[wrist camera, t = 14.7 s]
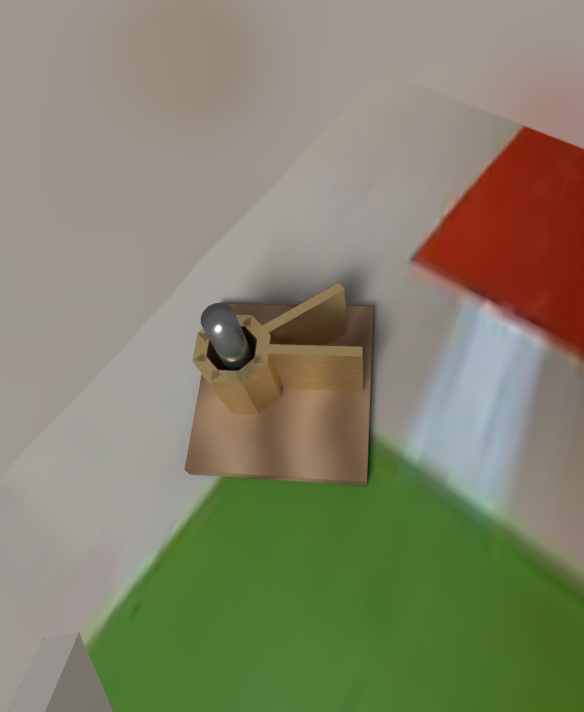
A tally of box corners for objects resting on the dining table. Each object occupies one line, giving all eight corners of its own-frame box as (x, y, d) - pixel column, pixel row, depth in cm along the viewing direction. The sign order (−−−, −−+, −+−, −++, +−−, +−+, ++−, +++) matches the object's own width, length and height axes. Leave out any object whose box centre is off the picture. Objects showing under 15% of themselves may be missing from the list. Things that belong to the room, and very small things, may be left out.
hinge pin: (264, 371, 48) (237, 303, 38) (261, 396, 47) (232, 334, 37) (238, 370, 49) (203, 302, 38) (234, 395, 48) (198, 333, 37)
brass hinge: (365, 325, 49) (365, 282, 43) (361, 420, 45) (360, 388, 39) (227, 322, 51) (207, 281, 45) (212, 412, 47) (188, 381, 41)
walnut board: (373, 314, 51) (373, 306, 50) (366, 486, 45) (366, 482, 43) (218, 311, 54) (214, 303, 52) (190, 474, 47) (184, 470, 46)
